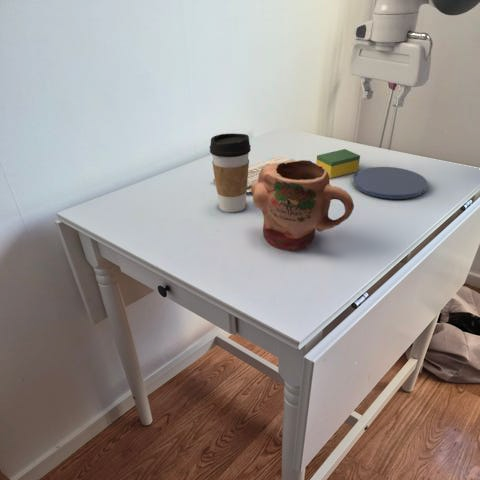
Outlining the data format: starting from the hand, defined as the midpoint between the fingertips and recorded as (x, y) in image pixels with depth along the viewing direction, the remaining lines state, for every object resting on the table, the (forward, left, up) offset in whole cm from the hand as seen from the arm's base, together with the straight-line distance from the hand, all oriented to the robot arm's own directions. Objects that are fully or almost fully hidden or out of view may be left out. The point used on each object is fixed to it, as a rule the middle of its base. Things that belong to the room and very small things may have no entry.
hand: (381, 102), depth 96 cm
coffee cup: (+38, -3, -17) cm, 42 cm away
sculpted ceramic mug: (+35, +17, -17) cm, 43 cm away
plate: (+1, +8, -17) cm, 18 cm away
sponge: (+6, -6, -17) cm, 18 cm away
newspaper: (+23, -13, -17) cm, 32 cm away
